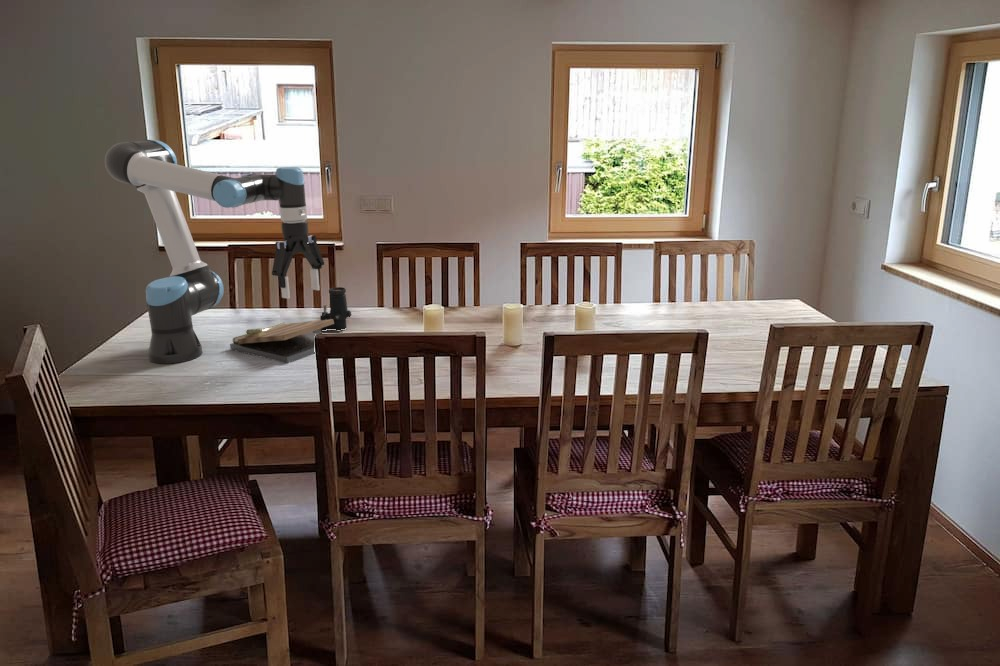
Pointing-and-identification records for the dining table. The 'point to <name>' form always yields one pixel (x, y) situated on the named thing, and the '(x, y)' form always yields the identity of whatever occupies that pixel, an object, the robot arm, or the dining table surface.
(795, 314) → the dining table surface
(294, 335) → the board
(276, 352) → the stand
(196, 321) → the dining table surface
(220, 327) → the dining table surface
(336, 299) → the scope
